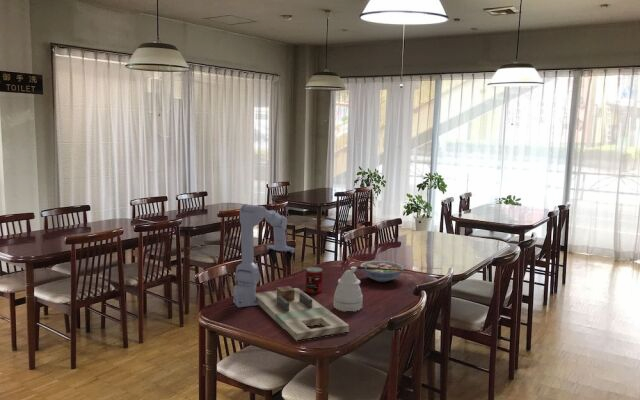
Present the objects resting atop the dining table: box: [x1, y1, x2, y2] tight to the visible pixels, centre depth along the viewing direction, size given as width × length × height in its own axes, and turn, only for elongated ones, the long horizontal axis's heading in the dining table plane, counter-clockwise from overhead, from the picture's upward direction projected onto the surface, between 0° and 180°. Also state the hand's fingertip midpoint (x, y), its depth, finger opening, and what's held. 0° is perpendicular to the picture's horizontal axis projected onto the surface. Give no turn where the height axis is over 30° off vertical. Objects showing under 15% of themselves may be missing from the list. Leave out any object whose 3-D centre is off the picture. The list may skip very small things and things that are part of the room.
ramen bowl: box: [357, 260, 408, 283], centre depth 271 cm, size 25×23×8 cm
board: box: [256, 287, 350, 342], centre depth 218 cm, size 22×50×6 cm, turn 26°
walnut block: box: [276, 285, 295, 301], centre depth 229 cm, size 6×6×4 cm
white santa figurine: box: [333, 266, 364, 312], centre depth 229 cm, size 13×13×18 cm
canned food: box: [305, 266, 323, 294], centre depth 249 cm, size 8×8×11 cm
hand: (281, 264), depth 258 cm, fingers open, 7 cm apart
